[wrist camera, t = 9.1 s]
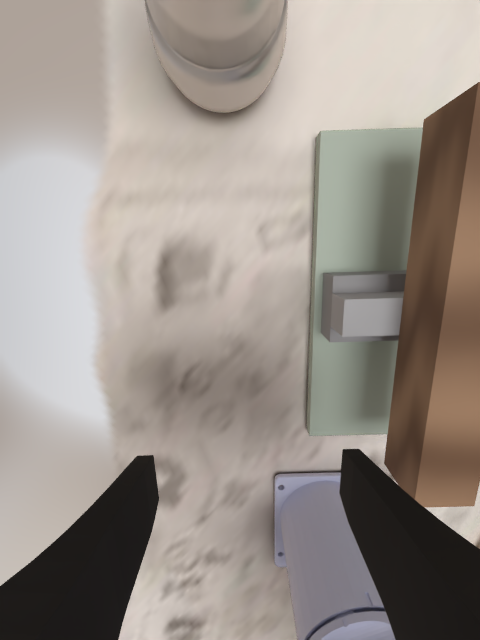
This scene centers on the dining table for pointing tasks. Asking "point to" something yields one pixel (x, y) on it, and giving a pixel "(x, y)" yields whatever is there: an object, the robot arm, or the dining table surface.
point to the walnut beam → (441, 318)
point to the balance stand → (358, 275)
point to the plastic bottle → (219, 47)
